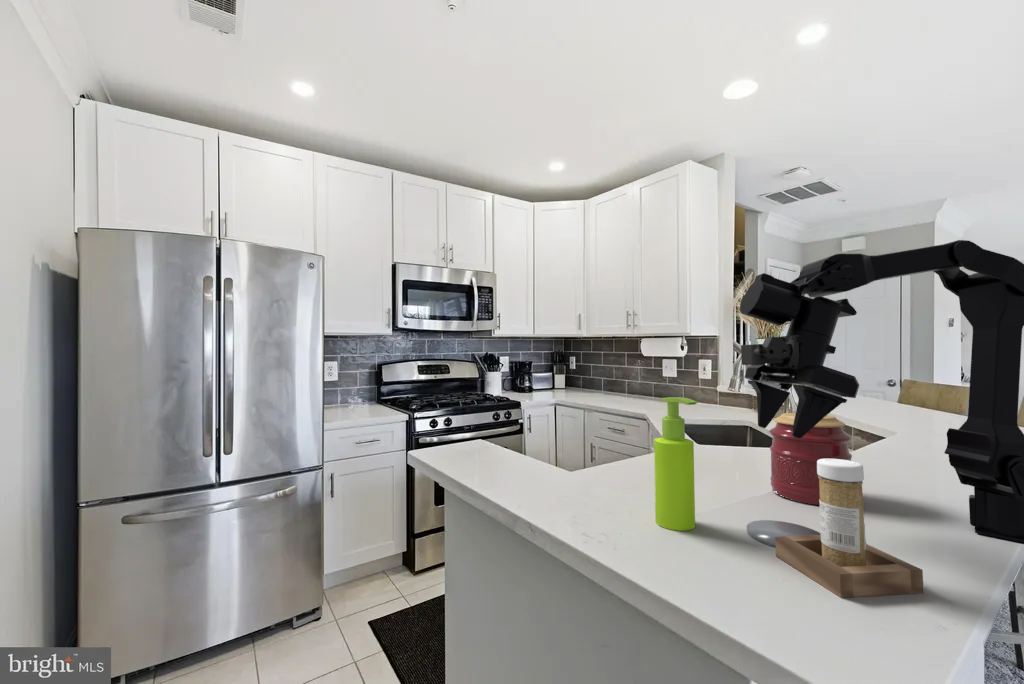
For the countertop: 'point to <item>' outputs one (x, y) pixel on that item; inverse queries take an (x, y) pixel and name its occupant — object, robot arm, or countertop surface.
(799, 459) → the canister
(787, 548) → the walnut pocket block
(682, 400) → the soap dispenser
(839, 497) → the sprinkles bottle
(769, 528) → the slate coaster
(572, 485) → the countertop surface
